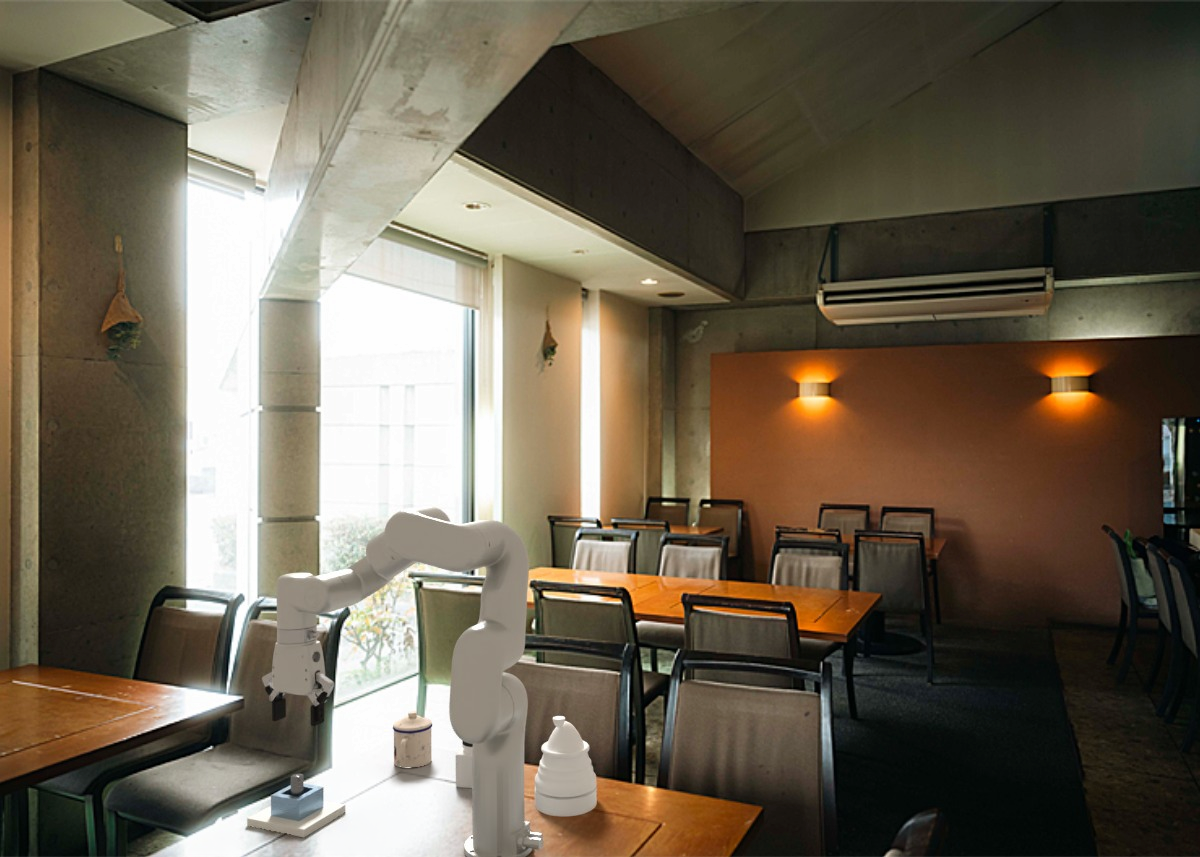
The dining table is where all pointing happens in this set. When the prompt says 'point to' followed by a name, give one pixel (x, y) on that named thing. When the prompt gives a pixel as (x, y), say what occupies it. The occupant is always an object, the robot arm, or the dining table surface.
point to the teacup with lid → (412, 741)
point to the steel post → (297, 785)
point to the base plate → (297, 827)
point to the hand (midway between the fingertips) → (298, 721)
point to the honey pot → (565, 774)
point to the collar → (297, 802)
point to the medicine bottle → (464, 766)
